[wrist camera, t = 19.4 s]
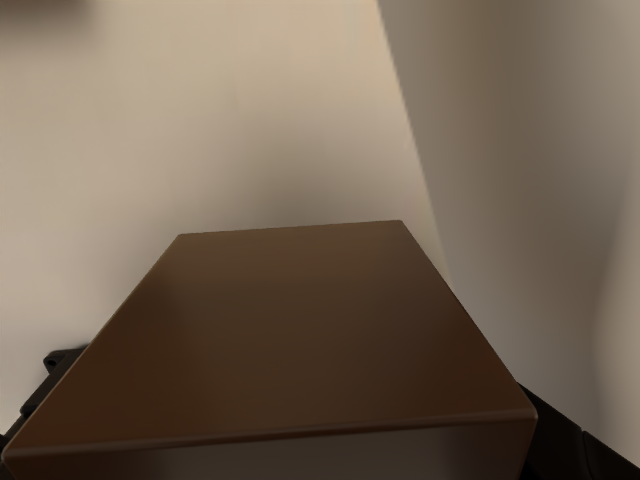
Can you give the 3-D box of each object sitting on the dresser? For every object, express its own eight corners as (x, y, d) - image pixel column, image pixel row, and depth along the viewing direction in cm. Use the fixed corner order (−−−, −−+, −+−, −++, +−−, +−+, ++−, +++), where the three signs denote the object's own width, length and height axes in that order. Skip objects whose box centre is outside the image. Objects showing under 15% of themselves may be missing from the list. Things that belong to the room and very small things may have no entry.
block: (393, 381, 10) (471, 640, 5) (218, 394, 10) (142, 668, 5) (401, 218, 8) (545, 414, 3) (178, 232, 8) (-8, 456, 3)
